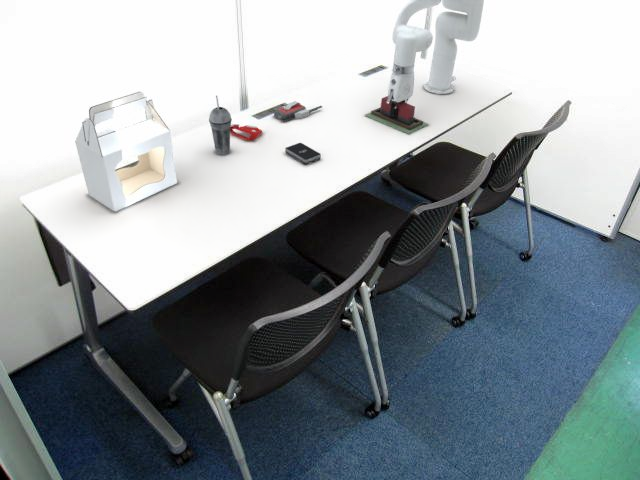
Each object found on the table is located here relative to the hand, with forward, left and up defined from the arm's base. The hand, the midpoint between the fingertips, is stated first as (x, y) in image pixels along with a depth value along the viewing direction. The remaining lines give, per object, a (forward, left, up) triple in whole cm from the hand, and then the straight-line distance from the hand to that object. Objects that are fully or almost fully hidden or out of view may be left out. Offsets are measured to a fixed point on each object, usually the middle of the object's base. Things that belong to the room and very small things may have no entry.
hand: (396, 115), depth 206 cm
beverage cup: (+65, -23, -2) cm, 69 cm away
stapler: (0, 0, -1) cm, 1 cm away
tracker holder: (+51, -28, -2) cm, 58 cm away
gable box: (+99, -21, -2) cm, 101 cm away
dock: (0, 0, -2) cm, 2 cm away
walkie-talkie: (+25, -29, -2) cm, 38 cm away
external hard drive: (+47, -3, -2) cm, 47 cm away
